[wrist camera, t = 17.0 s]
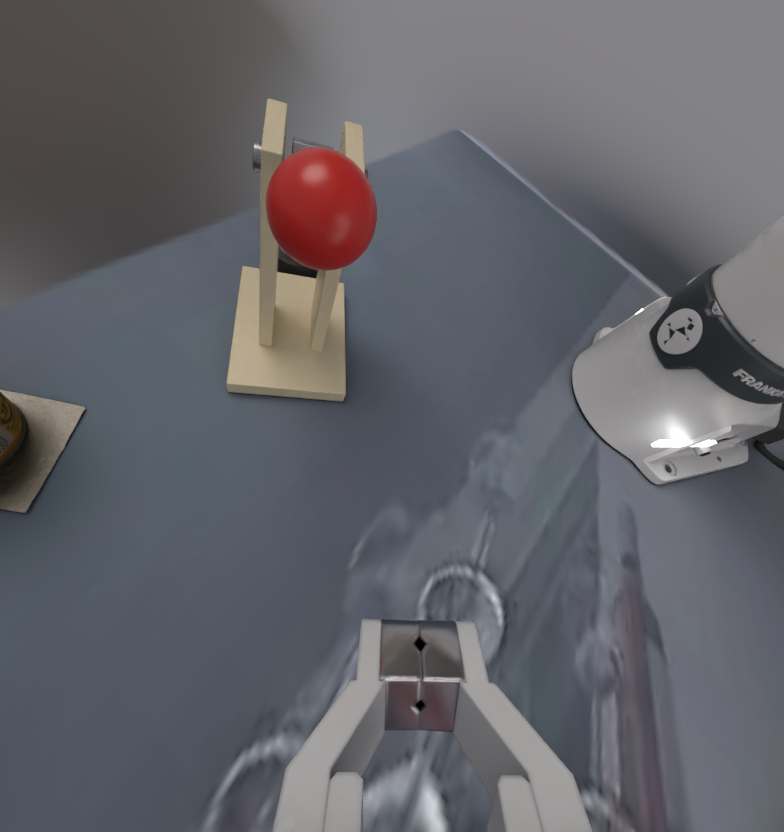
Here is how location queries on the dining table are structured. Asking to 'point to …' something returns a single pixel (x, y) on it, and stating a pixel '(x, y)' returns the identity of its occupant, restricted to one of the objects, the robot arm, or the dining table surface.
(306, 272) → the pilot lamp
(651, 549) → the dining table surface
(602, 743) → the dining table surface
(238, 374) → the switch bracket
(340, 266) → the switch lever
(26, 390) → the dining table surface
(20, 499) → the condiment
